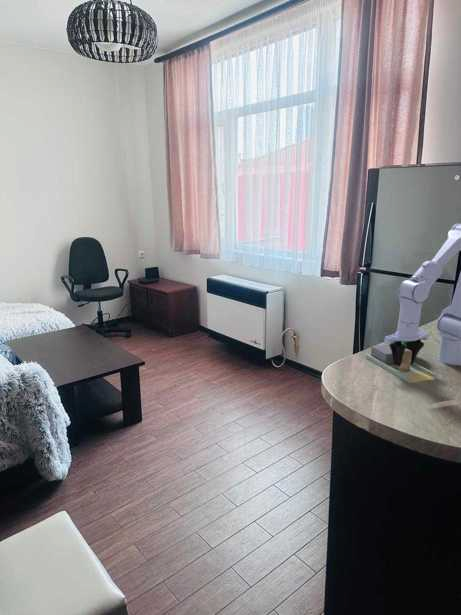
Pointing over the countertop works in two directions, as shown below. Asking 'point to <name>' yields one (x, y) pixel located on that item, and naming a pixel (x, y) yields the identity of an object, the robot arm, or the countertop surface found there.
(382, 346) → the slab
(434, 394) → the countertop surface
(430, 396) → the countertop surface
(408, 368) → the roller pin
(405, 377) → the runway
